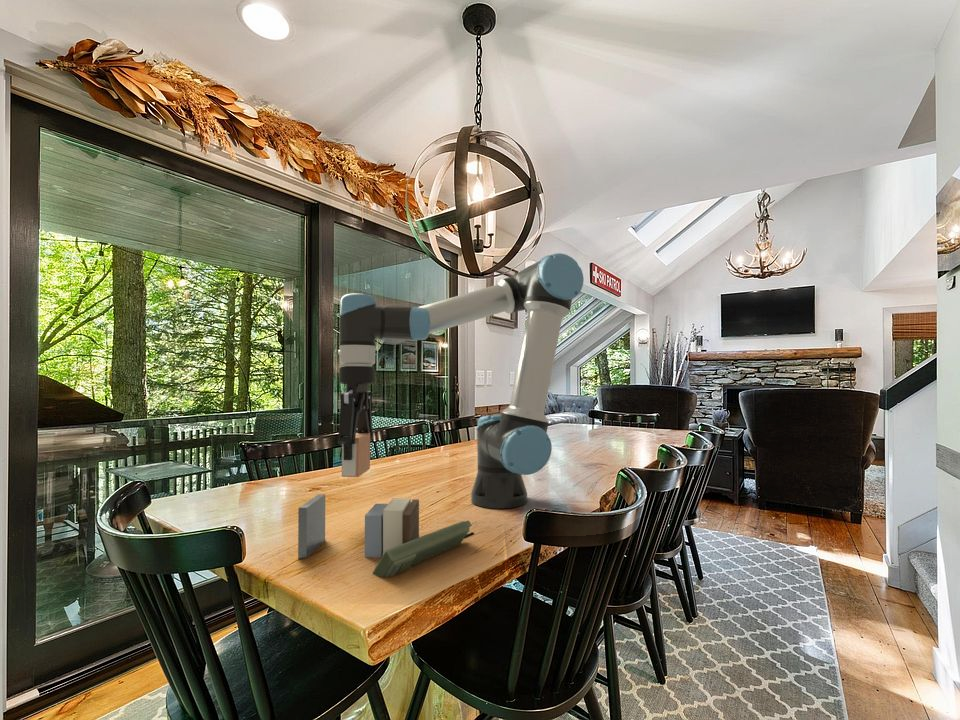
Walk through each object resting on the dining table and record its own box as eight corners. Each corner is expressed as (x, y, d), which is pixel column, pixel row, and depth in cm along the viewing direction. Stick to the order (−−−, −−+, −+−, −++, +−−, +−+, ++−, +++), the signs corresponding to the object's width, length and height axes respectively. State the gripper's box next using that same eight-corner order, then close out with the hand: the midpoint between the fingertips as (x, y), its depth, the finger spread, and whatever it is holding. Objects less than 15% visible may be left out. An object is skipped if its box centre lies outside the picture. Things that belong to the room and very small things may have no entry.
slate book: (390, 542, 88) (390, 503, 88) (381, 557, 81) (381, 515, 81) (375, 542, 88) (375, 503, 88) (364, 557, 81) (364, 515, 81)
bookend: (325, 539, 89) (325, 494, 89) (306, 558, 80) (306, 507, 80) (317, 539, 89) (317, 494, 90) (298, 558, 80) (298, 507, 81)
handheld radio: (367, 573, 75) (465, 532, 94) (377, 590, 73) (475, 545, 92) (383, 547, 72) (480, 510, 92) (394, 563, 71) (490, 523, 90)
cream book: (410, 541, 88) (410, 498, 88) (402, 558, 80) (402, 510, 80) (393, 541, 88) (393, 498, 89) (383, 558, 80) (383, 510, 81)
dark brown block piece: (419, 545, 89) (418, 499, 89) (409, 567, 79) (409, 515, 79) (314, 545, 90) (315, 499, 90) (292, 566, 80) (293, 514, 80)
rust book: (369, 468, 100) (370, 433, 101) (358, 476, 92) (358, 438, 93) (354, 468, 100) (354, 433, 101) (341, 476, 92) (342, 437, 93)
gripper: (356, 366, 108) (355, 461, 107) (320, 364, 87) (319, 482, 86) (386, 366, 107) (386, 461, 107) (358, 364, 87) (357, 482, 86)
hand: (356, 470), depth 96 cm, fingers closed on rust book, 8 cm apart
